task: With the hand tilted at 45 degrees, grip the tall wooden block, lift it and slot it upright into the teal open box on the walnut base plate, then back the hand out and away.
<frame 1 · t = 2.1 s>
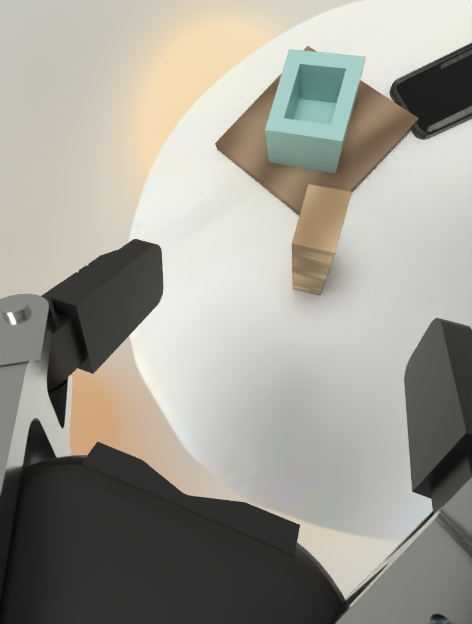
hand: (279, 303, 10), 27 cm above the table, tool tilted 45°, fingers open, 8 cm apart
phone: (464, 88, 38), on the table
base plate: (311, 137, 39), on the table
tall wooden block: (311, 272, 37), on the table
teal open box: (313, 113, 36), on the base plate, point 4 cm above the table
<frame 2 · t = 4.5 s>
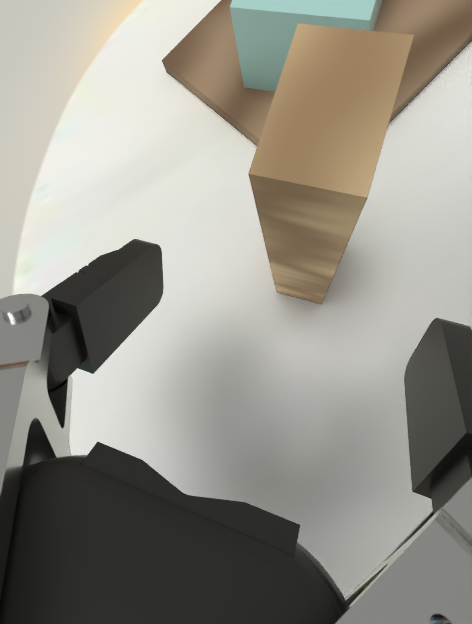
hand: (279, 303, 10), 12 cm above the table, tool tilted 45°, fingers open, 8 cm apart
base plate: (313, 51, 25), on the table
tall wooden block: (308, 265, 22), on the table
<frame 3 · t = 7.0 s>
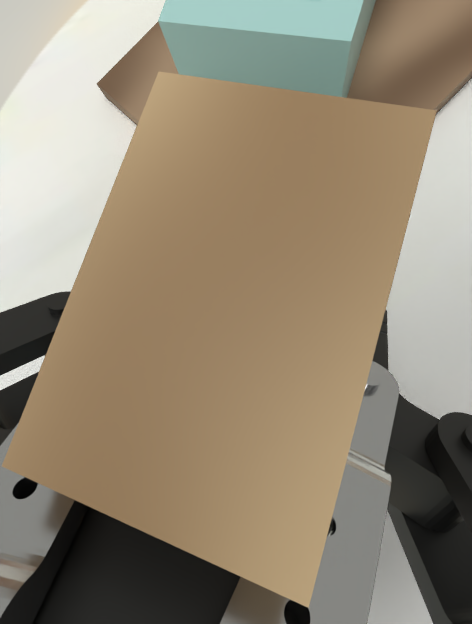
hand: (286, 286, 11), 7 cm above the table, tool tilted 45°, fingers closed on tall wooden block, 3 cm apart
base plate: (286, 72, 19), on the table
tall wooden block: (276, 361, 17), on the table, touching gripper
teal open box: (284, 4, 16), on the base plate, point 4 cm above the table
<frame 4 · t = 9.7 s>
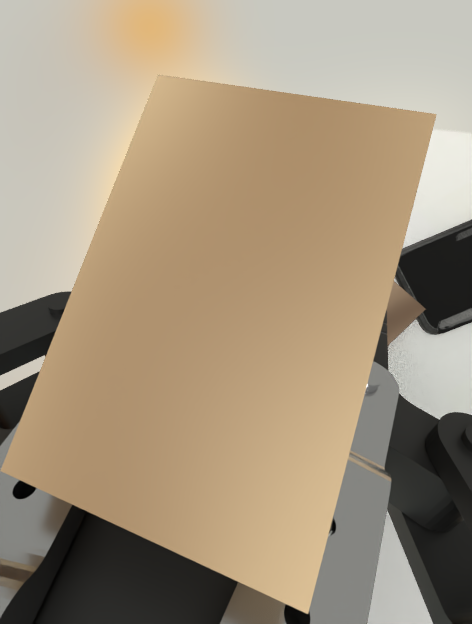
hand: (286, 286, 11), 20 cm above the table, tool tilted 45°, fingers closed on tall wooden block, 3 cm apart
base plate: (286, 310, 30), on the table
tall wooden block: (276, 362, 17), point 13 cm above the table, touching gripper
when the fingers open (9 cm above the table, at t = 12.9 s): tall wooden block stays where it is, resting on teal open box.
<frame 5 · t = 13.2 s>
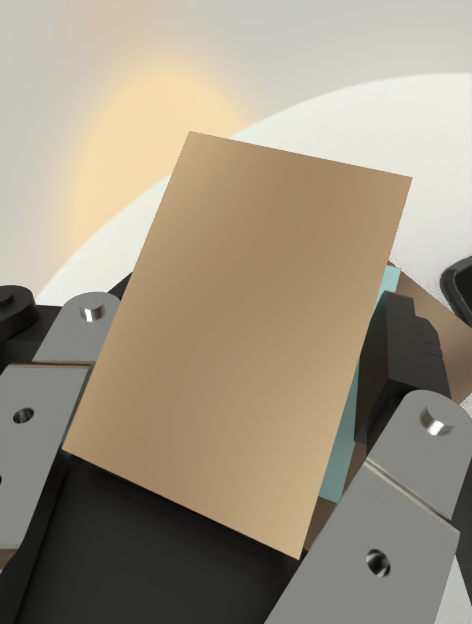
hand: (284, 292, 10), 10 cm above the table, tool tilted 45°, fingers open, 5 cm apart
base plate: (280, 356, 20), on the table
tall wooden block: (277, 362, 18), point 2 cm above the table, touching teal open box
teal open box: (277, 354, 16), on the base plate, point 4 cm above the table
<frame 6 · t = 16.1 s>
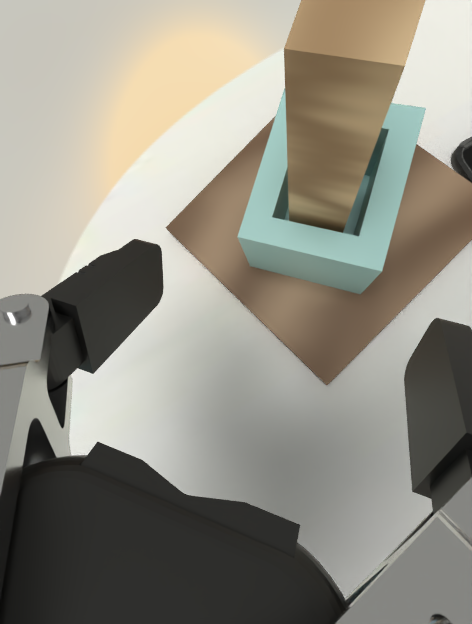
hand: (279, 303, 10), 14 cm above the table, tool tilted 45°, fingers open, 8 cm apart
base plate: (320, 223, 24), on the table
tall wooden block: (322, 216, 22), point 2 cm above the table, touching teal open box
teal open box: (325, 198, 21), on the base plate, point 4 cm above the table
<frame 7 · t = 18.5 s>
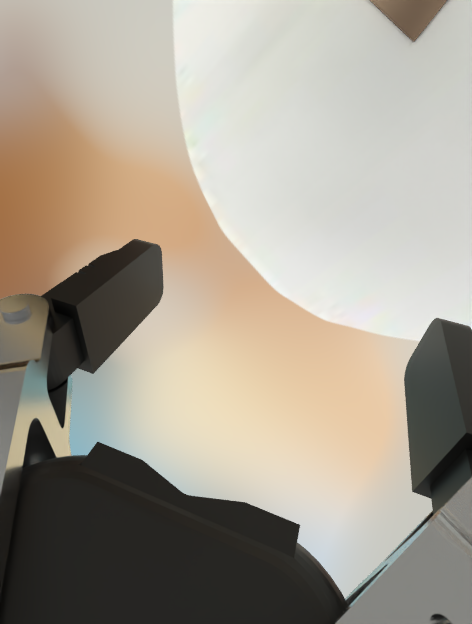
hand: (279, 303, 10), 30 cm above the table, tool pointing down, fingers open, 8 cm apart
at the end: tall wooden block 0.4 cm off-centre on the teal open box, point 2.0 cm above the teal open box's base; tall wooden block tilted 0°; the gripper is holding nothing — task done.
